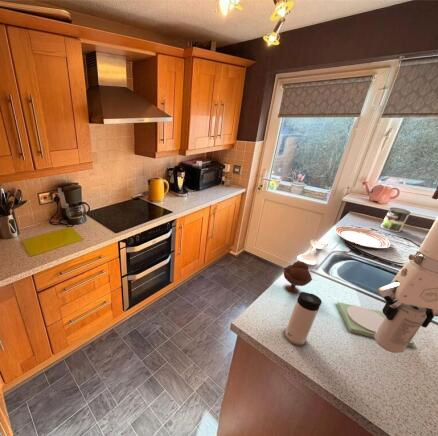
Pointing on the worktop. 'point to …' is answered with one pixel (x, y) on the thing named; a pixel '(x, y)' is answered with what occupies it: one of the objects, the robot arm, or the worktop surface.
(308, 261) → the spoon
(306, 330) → the travel mug
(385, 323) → the energy drink can
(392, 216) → the glass jar
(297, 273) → the ice cream bowl
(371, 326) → the kitchen scale
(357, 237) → the dinner plate
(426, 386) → the worktop surface
